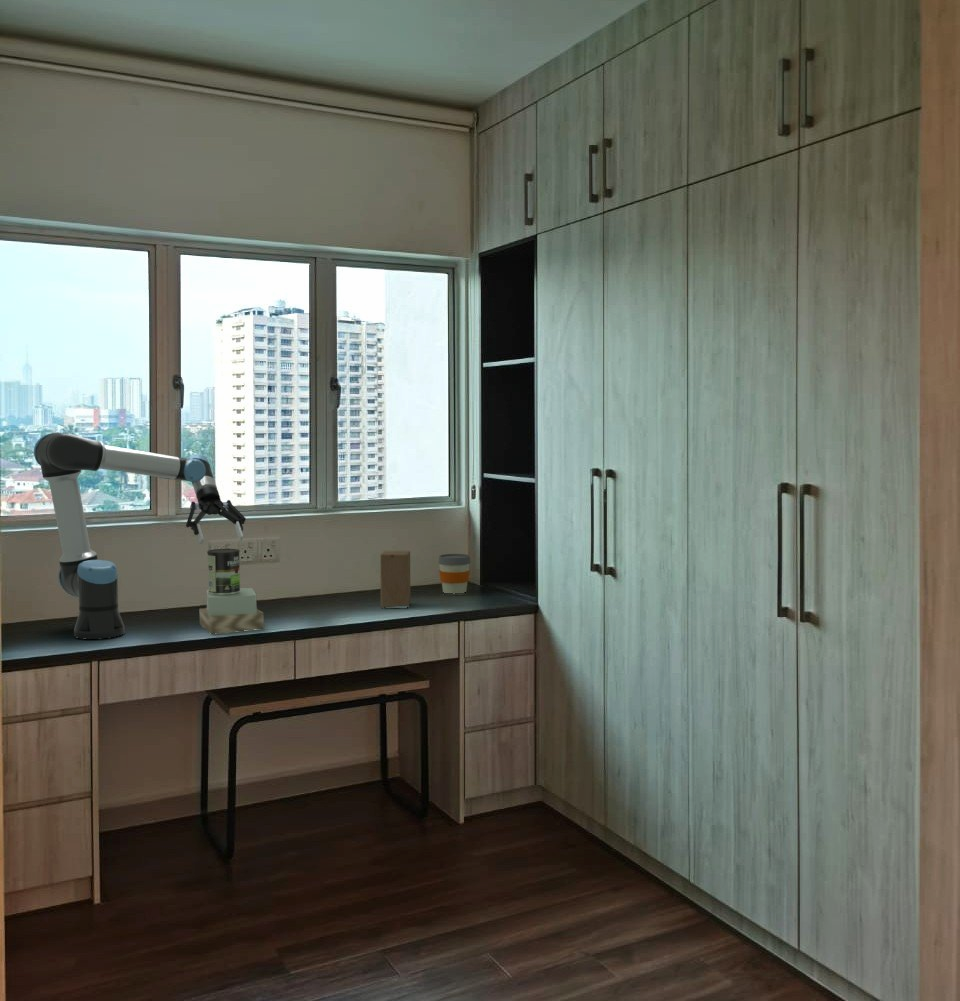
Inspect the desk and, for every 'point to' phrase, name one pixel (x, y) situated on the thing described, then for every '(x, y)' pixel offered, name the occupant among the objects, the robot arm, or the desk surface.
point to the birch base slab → (231, 622)
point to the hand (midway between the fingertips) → (221, 540)
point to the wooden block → (395, 578)
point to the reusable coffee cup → (454, 572)
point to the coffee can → (223, 571)
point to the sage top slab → (232, 603)
